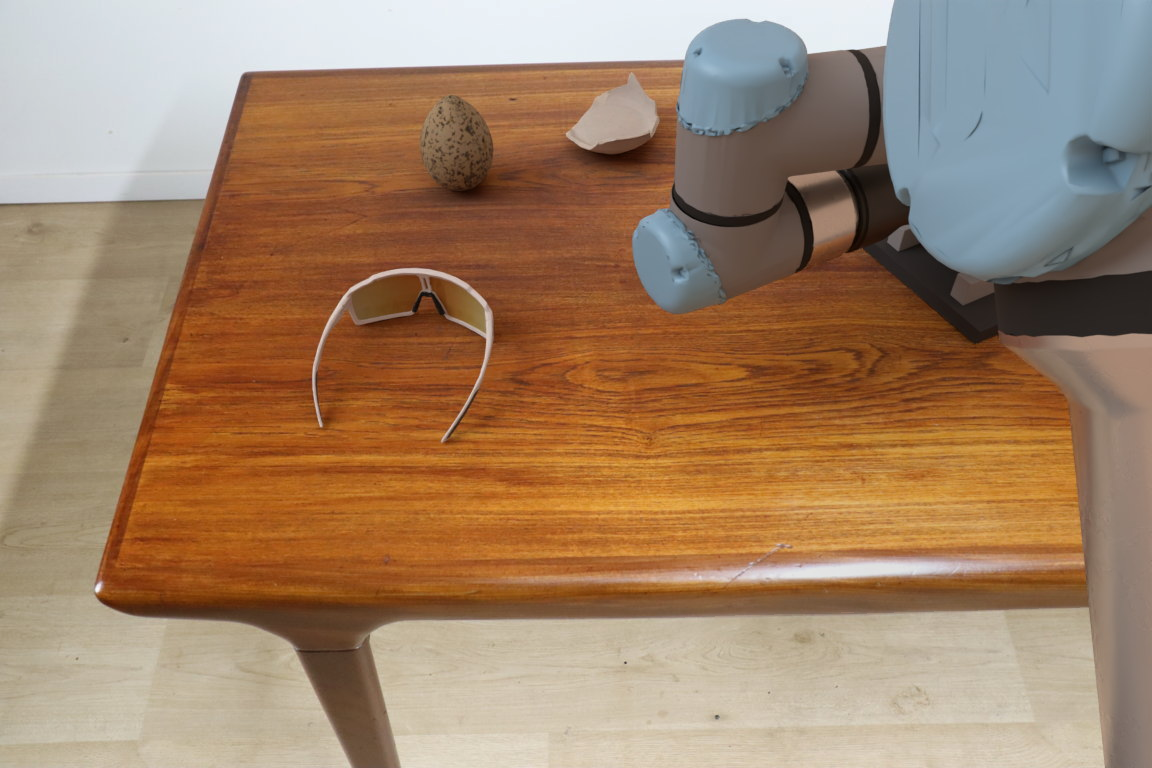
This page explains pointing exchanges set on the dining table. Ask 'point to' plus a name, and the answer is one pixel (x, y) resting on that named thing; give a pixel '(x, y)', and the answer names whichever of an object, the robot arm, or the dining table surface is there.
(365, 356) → the dining table surface
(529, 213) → the dining table surface
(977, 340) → the base pad
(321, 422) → the sunglasses
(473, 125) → the decorative egg
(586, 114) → the pottery shard
